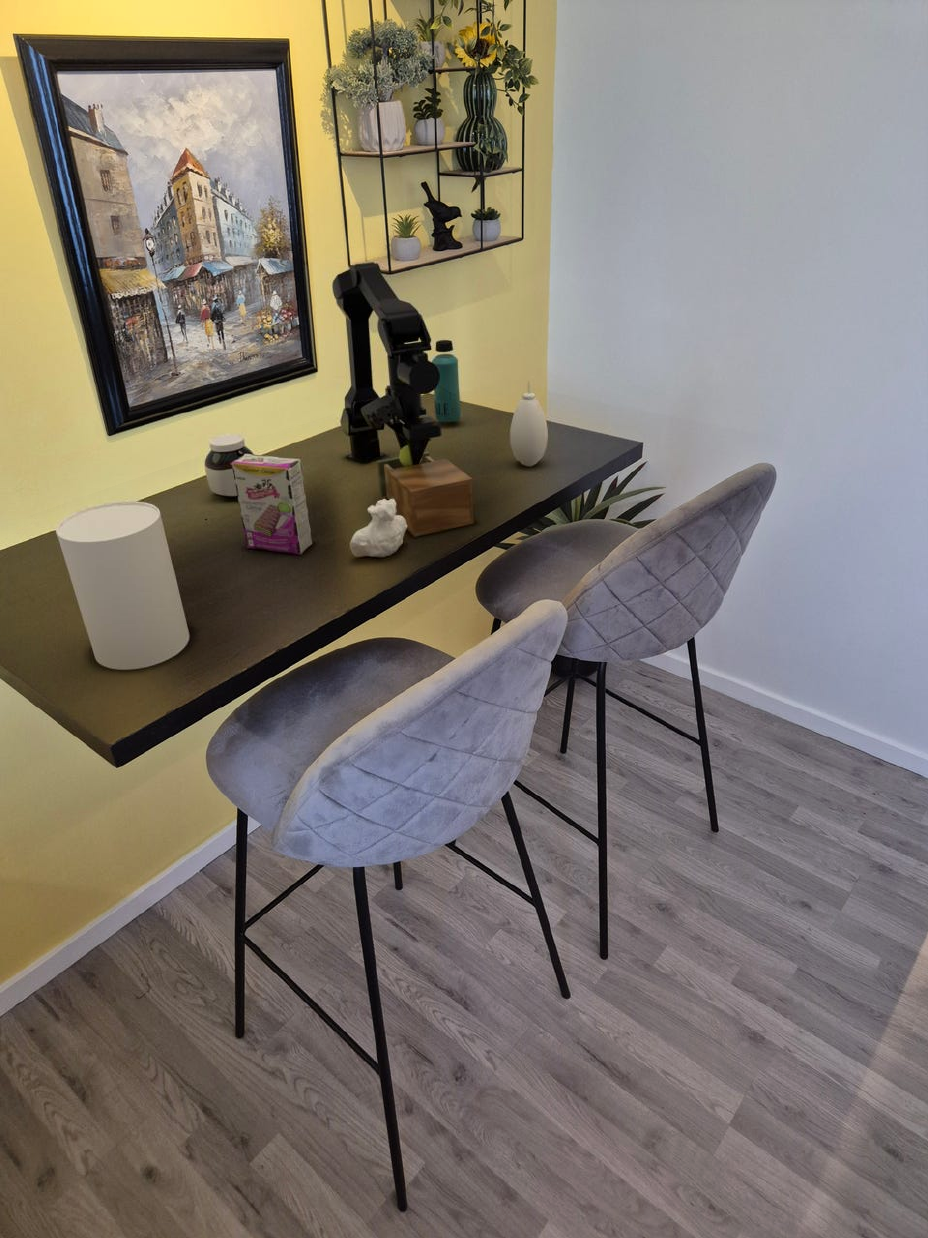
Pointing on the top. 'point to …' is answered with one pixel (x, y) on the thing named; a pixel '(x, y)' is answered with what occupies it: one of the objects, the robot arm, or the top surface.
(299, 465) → the candy bar box
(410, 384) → the robot arm
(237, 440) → the spread jar
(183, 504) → the top surface
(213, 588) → the top surface
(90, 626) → the canister
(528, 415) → the white air blower bulb
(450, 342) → the beverage bottle
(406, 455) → the ball
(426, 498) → the cabinet
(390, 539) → the white lumpy figure
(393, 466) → the drawer
